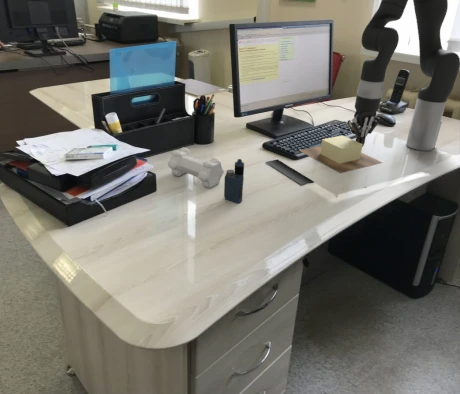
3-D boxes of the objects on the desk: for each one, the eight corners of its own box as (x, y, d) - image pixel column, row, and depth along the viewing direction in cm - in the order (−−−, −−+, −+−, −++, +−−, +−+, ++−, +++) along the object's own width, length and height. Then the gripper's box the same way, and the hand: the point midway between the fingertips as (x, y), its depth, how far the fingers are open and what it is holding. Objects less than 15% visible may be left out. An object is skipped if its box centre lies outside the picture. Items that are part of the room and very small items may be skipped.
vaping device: (239, 205, 112) (241, 162, 106) (222, 199, 114) (223, 157, 108) (244, 201, 114) (246, 159, 108) (227, 195, 116) (228, 154, 110)
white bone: (224, 184, 123) (226, 158, 120) (204, 192, 117) (206, 164, 114) (186, 170, 131) (187, 144, 128) (165, 176, 125) (166, 149, 122)
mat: (300, 155, 143) (300, 154, 143) (337, 176, 129) (337, 175, 129) (265, 162, 137) (265, 161, 137) (300, 185, 123) (301, 184, 123)
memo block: (340, 149, 145) (342, 135, 143) (359, 158, 138) (362, 144, 136) (320, 153, 141) (322, 139, 139) (339, 163, 134) (341, 148, 132)
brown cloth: (338, 146, 152) (339, 142, 151) (381, 166, 137) (382, 162, 136) (298, 154, 144) (298, 150, 143) (339, 177, 129) (340, 173, 128)
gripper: (362, 99, 129) (352, 153, 137) (393, 95, 135) (381, 147, 143) (345, 93, 134) (336, 145, 142) (375, 89, 140) (365, 139, 148)
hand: (359, 146), depth 143 cm, fingers closed
